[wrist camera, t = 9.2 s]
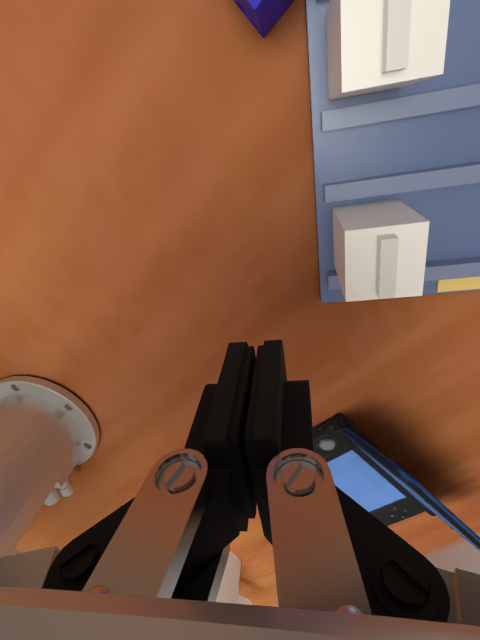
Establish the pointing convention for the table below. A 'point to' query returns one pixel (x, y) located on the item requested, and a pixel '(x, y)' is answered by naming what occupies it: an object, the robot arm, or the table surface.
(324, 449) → the handheld game console
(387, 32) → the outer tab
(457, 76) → the switch board
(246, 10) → the cable clip
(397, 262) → the white rectangular block
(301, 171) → the table surface
